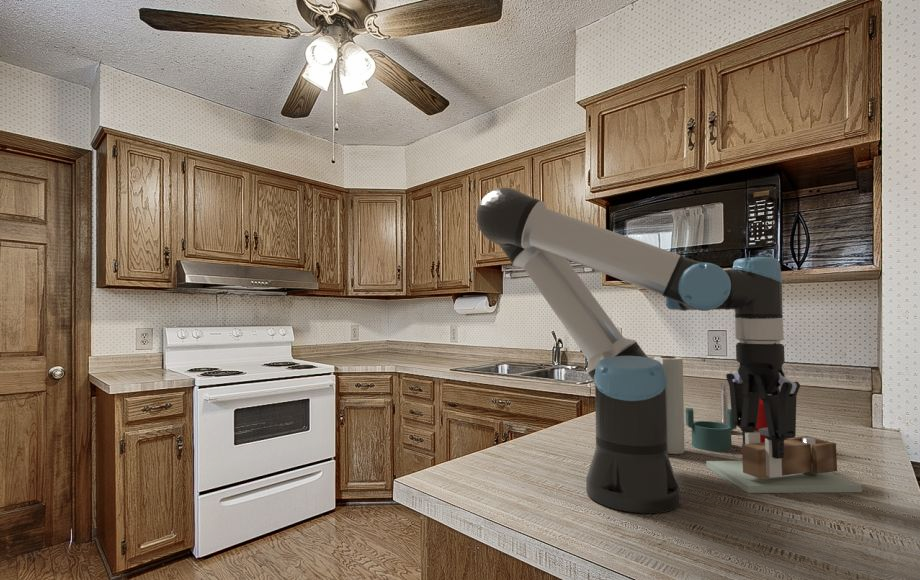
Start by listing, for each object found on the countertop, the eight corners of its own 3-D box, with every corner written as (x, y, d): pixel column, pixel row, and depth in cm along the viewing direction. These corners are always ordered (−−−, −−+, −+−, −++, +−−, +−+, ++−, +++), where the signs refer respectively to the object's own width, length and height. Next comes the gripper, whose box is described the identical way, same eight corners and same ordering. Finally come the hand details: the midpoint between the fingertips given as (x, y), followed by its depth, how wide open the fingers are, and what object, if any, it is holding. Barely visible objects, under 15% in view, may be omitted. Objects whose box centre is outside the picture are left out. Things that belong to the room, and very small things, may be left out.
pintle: (808, 476, 89) (807, 440, 89) (800, 472, 91) (799, 437, 91) (819, 476, 89) (817, 439, 89) (811, 472, 91) (809, 437, 91)
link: (764, 480, 83) (763, 451, 83) (738, 470, 89) (737, 443, 89) (837, 470, 88) (835, 443, 88) (807, 461, 93) (806, 435, 93)
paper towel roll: (671, 446, 113) (669, 355, 114) (690, 453, 107) (688, 357, 108) (645, 449, 111) (644, 356, 112) (664, 456, 105) (662, 358, 106)
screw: (715, 428, 130) (735, 431, 127) (713, 432, 125) (735, 435, 123) (713, 380, 130) (734, 381, 128) (712, 382, 126) (733, 384, 124)
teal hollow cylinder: (740, 448, 111) (739, 409, 112) (716, 454, 107) (715, 413, 107) (703, 439, 119) (702, 403, 120) (680, 445, 114) (679, 407, 115)
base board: (748, 492, 84) (748, 485, 84) (706, 466, 98) (706, 461, 98) (861, 492, 84) (861, 485, 84) (803, 466, 98) (803, 460, 98)
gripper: (819, 344, 81) (825, 485, 80) (738, 339, 97) (741, 456, 96) (785, 345, 79) (790, 490, 78) (707, 339, 95) (711, 460, 94)
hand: (763, 471), depth 87 cm, fingers closed on link, 3 cm apart
